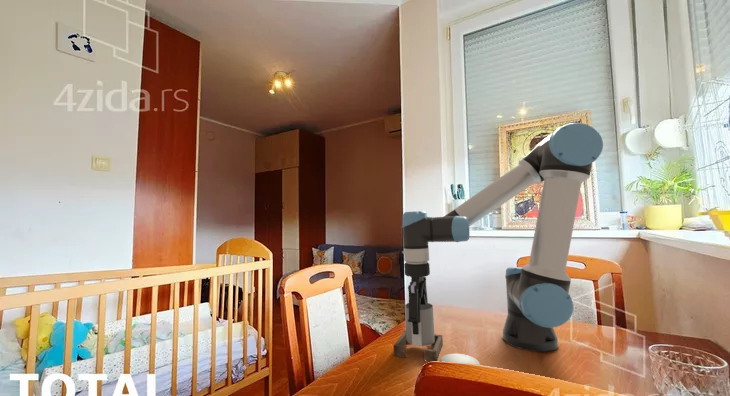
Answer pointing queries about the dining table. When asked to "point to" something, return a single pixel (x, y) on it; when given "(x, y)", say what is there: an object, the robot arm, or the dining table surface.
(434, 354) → the pocket holder
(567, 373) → the dining table surface
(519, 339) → the robot arm
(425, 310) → the cup
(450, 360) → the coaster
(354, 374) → the dining table surface
